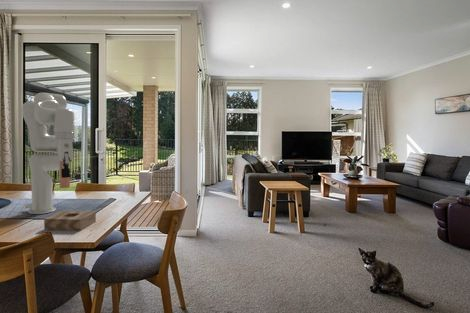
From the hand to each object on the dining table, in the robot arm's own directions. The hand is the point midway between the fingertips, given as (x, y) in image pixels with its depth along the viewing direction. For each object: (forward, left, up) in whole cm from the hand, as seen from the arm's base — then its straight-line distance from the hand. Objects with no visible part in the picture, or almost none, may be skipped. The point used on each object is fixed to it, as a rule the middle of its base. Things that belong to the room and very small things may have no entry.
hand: (64, 176), depth 132 cm
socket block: (+2, +2, -23) cm, 23 cm away
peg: (0, 0, -5) cm, 5 cm away
